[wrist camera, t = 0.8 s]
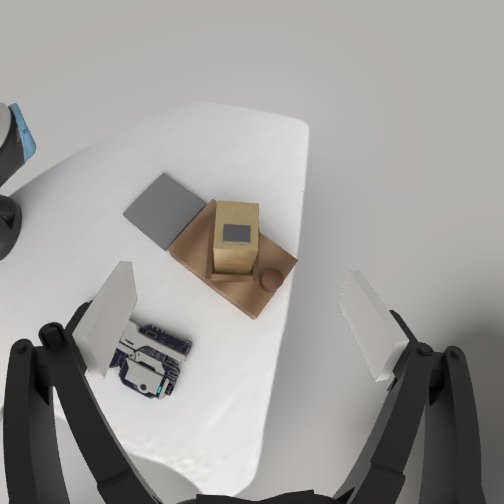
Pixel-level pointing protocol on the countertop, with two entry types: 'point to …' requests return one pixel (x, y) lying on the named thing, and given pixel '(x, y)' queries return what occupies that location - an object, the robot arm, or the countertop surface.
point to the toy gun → (148, 359)
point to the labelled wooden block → (235, 237)
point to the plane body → (232, 285)
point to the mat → (164, 210)
